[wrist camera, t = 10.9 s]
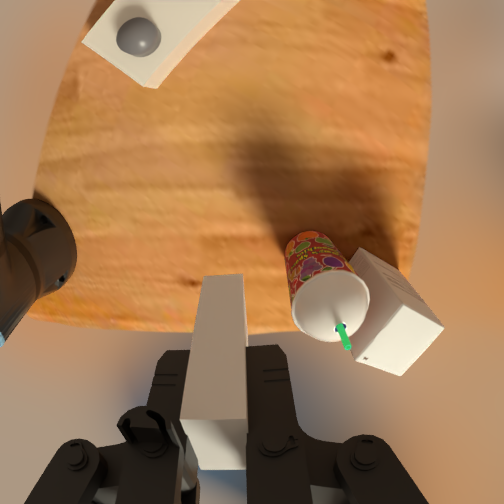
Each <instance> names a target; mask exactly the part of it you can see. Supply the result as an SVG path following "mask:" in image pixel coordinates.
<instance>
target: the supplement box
mask: <svg viewBox="0 0 504 504" xmlns="http://www.w3.org/2000/svg"><path fill="white" fill-rule="evenodd" d="M348 263H349V264H350V265H351V266H352V268H353V269H354V270H355V271H356V273H357V274H358V275H359V277H360V278H361V279H363V280H364V282H365V284H366V285H367V287H368V289H369V295H370V302H369V306H368V310H367V313H366V317H365V319H364V321H363V323H362V325H361V326H360V328H359V329H358V330H357V331H356V332H355V333H354V334H353V335H351V336H350V337H348V338H349V341H350V343H351V346H352V347H351V349H350V351H351V353H352V355H353V358H354V360H355V361H358V362H361V363H364V364H367V365H370V366H373V367H376V368H379V369H381V370H384V371H387V372H389V373H392V374H395V375H398V376H401V375H402V374H403V373H404V372H405V371H406V370H407V369H408V368H409V367H410V366H411V365H412V364H413V363H414V362H415V361H416V360H417V358H418V357H419V356H420V355H421V354H422V353H423V352H424V351H425V350H426V349H427V347H428V346H429V345H430V344H431V343H432V342H433V341H434V340H435V339H436V337H437V336H438V335H439V334H440V333H441V332H442V330H443V329H444V326H443V325H442V323H441V322H440V320H439V319H438V318H437V317H436V315H435V314H434V313H433V312H432V310H431V309H430V308H429V307H428V305H427V304H426V303H425V302H424V300H423V299H422V298H421V297H420V295H419V294H418V293H417V292H416V291H415V289H414V288H413V287H412V286H411V284H410V283H409V282H408V281H407V280H406V278H405V277H404V276H403V275H402V274H401V272H400V271H399V270H398V269H396V268H394V267H393V266H391V265H389V264H388V263H386V262H384V261H383V260H381V259H379V258H378V257H376V256H374V255H373V254H371V253H369V252H368V251H366V250H364V249H363V248H361V247H359V248H358V250H357V251H356V253H355V254H354V255H353V257H352V258H351V260H350V261H349V262H348Z"/></svg>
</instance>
